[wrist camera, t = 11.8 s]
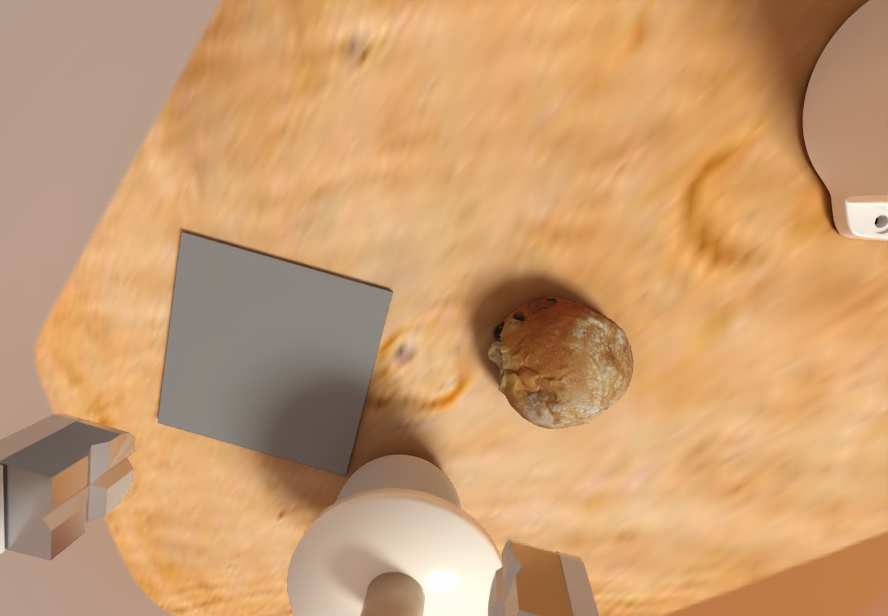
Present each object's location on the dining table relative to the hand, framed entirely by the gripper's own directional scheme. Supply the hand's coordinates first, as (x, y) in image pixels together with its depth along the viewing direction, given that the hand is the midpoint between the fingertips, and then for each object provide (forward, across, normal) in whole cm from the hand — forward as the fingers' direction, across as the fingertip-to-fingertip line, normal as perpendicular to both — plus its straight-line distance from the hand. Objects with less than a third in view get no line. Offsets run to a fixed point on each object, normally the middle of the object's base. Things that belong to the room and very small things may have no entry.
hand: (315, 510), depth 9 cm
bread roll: (+25, -10, +3) cm, 27 cm away
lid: (+16, -3, +19) cm, 25 cm away
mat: (+24, +12, +9) cm, 28 cm away
